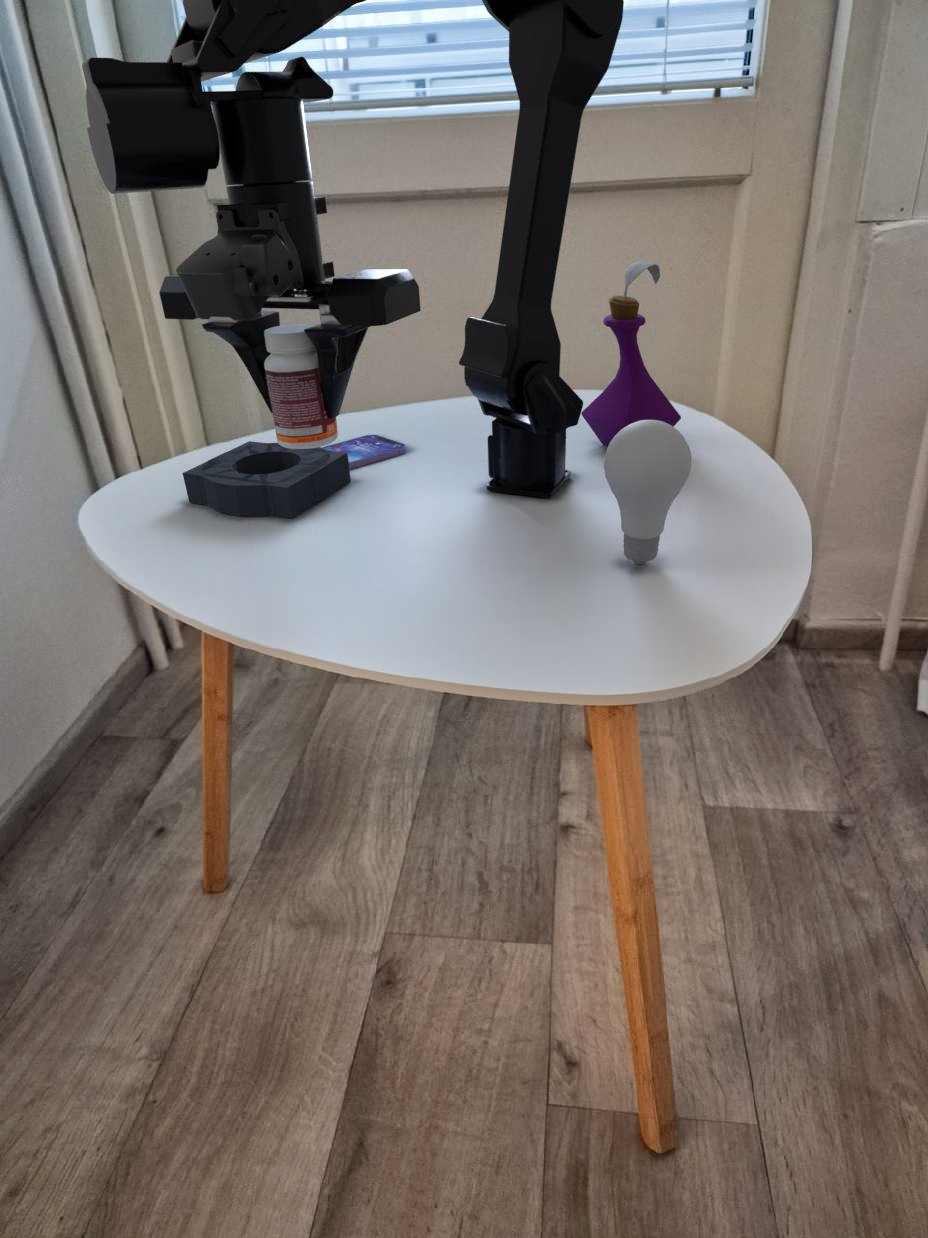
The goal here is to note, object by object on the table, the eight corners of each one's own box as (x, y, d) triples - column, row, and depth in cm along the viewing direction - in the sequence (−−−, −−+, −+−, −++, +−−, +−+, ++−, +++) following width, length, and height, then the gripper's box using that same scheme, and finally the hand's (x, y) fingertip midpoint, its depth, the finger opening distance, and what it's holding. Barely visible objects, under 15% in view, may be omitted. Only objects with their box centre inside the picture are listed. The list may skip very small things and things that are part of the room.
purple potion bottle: (621, 461, 80) (633, 269, 71) (579, 442, 86) (584, 262, 77) (679, 447, 83) (697, 261, 74) (634, 430, 89) (646, 255, 80)
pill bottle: (342, 446, 60) (327, 330, 56) (278, 453, 59) (258, 337, 55) (336, 428, 64) (321, 319, 60) (276, 435, 63) (257, 325, 59)
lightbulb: (664, 588, 57) (678, 439, 52) (586, 570, 60) (591, 427, 55) (691, 555, 62) (707, 414, 56) (617, 540, 65) (625, 405, 59)
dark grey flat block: (357, 477, 80) (354, 448, 78) (285, 524, 70) (280, 492, 69) (260, 465, 84) (255, 437, 83) (180, 506, 75) (173, 476, 73)
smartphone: (253, 465, 83) (372, 433, 91) (255, 474, 84) (373, 441, 92) (287, 481, 78) (410, 445, 86) (288, 490, 78) (411, 453, 86)
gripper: (72, 195, 50) (136, 436, 58) (323, 185, 43) (356, 460, 51) (190, 185, 59) (231, 396, 67) (414, 176, 52) (431, 412, 60)
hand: (304, 414), depth 61 cm, fingers closed on pill bottle, 5 cm apart
